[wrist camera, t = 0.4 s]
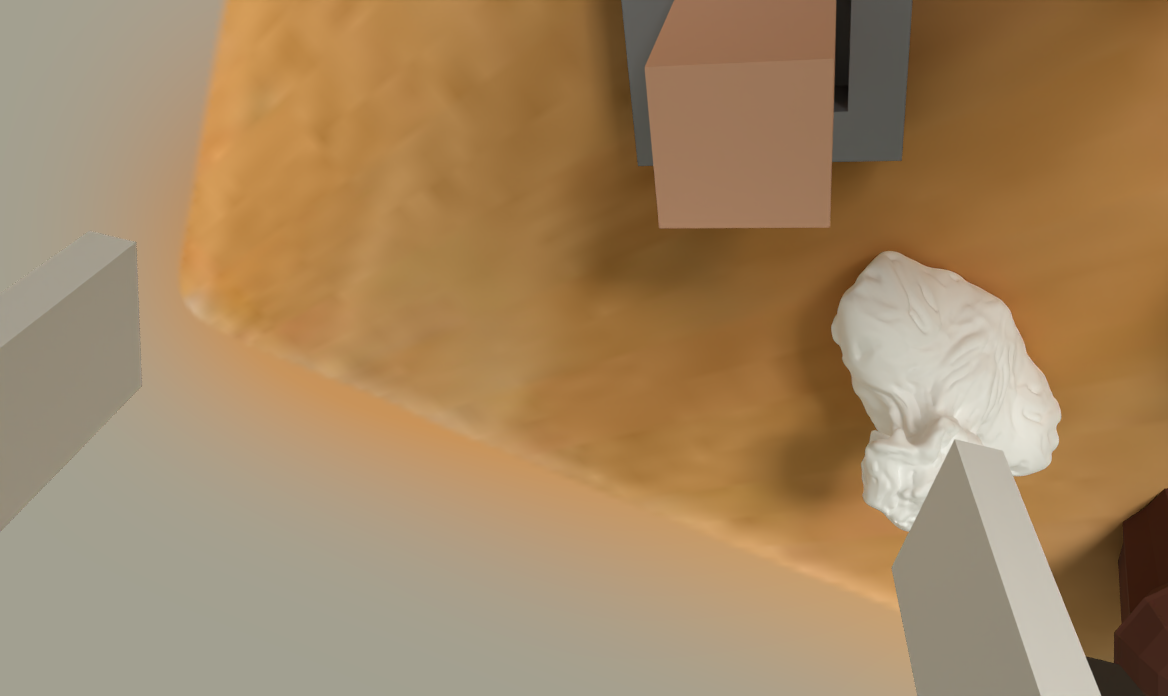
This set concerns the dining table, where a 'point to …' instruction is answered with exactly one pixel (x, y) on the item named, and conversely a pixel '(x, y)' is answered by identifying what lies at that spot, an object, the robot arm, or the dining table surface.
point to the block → (743, 113)
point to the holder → (862, 75)
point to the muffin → (1145, 598)
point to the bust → (937, 379)
